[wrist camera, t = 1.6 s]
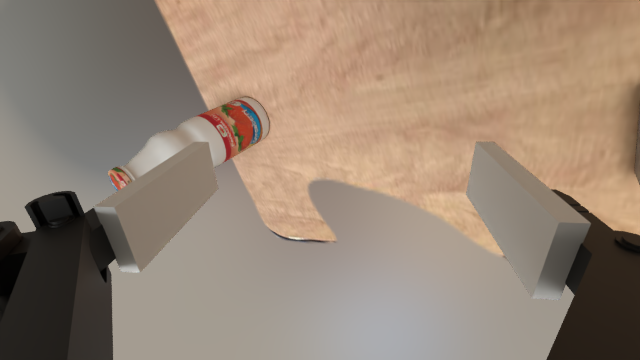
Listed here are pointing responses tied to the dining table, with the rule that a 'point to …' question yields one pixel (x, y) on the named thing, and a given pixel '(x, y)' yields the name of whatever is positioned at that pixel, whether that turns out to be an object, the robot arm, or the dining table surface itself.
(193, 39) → the dining table surface
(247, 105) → the white yogurt drink bottle
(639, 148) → the pusher lane
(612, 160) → the dining table surface
